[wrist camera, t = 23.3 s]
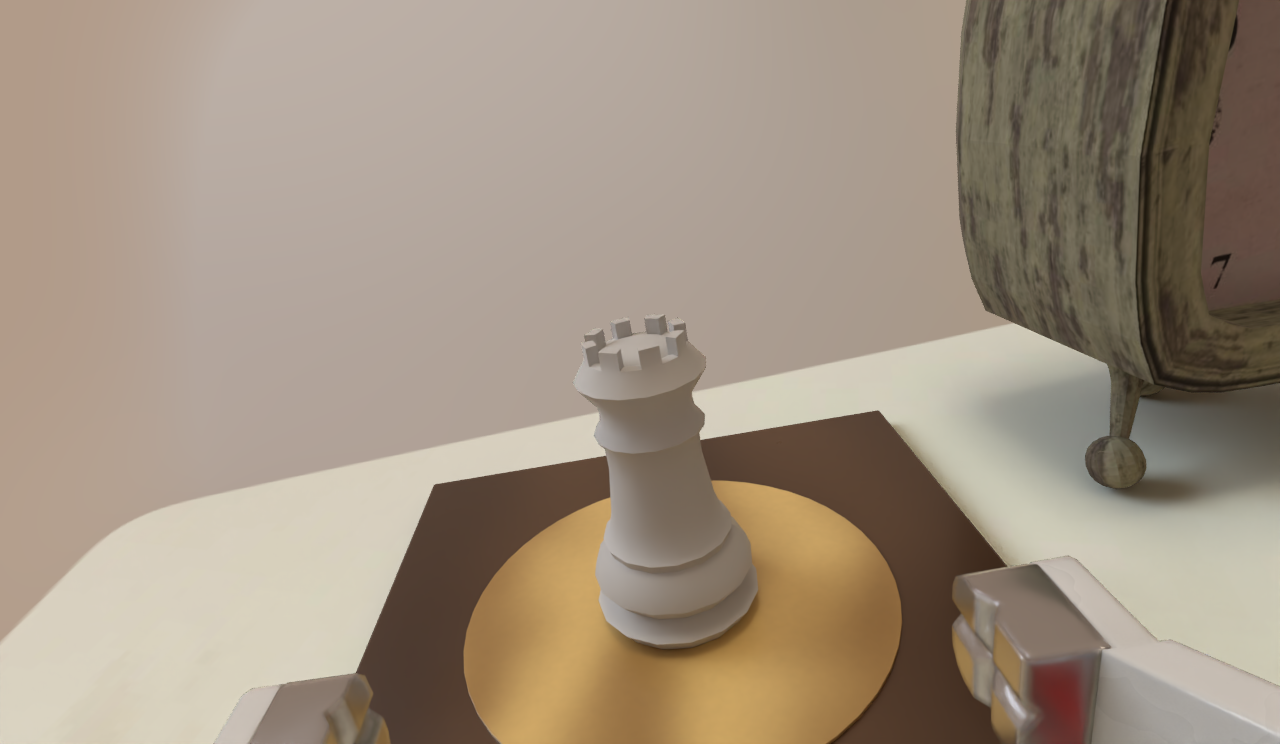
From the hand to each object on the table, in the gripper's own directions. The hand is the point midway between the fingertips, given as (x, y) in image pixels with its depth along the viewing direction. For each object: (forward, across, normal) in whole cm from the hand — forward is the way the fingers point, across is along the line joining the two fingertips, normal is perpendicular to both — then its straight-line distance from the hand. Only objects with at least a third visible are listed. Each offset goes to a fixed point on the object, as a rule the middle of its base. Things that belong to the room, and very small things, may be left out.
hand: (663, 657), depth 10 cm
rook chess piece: (+8, 0, +6) cm, 11 cm away
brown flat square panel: (+9, 0, +7) cm, 11 cm away
